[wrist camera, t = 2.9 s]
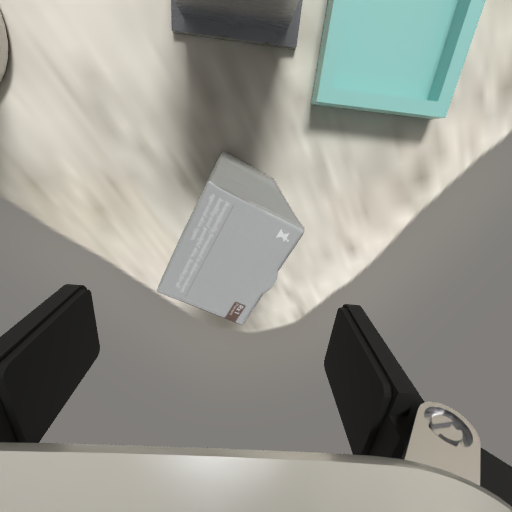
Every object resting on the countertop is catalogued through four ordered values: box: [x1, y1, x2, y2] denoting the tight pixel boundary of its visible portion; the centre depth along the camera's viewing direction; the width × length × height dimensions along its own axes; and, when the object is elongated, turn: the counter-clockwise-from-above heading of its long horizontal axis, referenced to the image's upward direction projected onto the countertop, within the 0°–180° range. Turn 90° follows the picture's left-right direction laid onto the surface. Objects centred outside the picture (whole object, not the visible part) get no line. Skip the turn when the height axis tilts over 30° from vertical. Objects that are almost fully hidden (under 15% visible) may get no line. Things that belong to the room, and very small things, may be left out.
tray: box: [311, 0, 485, 119], centre depth 24 cm, size 12×13×2 cm
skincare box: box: [157, 151, 304, 325], centre depth 23 cm, size 8×7×16 cm
